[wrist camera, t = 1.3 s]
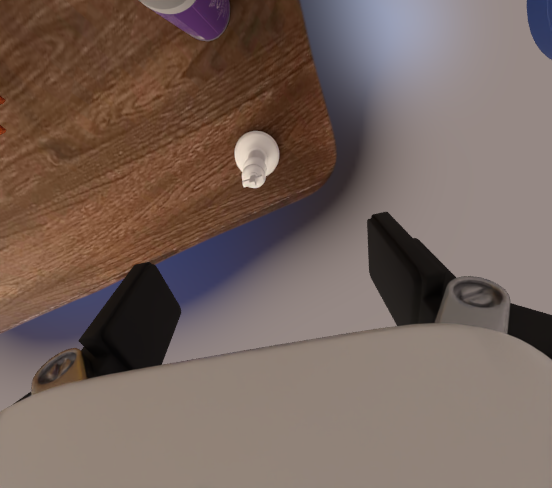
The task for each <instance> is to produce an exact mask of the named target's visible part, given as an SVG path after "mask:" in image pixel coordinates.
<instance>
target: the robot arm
mask: <svg viewBox="0 0 552 488" xmlns="http://www.w3.org/2000/svg"><path fill="white" fill-rule="evenodd" d="M367 228H368V255H369V273H370V276H371V278H372V280H373V282H374V284H375V286H376V288H377V290H378V291H379V293H380V295H381V297H382V299H383V301H384V302H385V304H386V306H387V308H388V310H389V312H390V313H391V315H392V317H393V319H394V321H395V322H396V324H397V326H395V327H387V328H379V329H373V330H366V331H360V332H353V333H347V334H340V335H335V336H329V337H322V338H316V339H311V340H304V341H299V342H292V343H286V344H280V345H274V346H269V347H262V348H256V349H250V350H244V351H239V352H233V353H227V354H221V355H215V356H210V357H204V358H198V359H192V360H187V361H181V362H176V363H170V364H164V365H162V362H163V359H164V357H165V354H166V352H167V349H168V346H169V344H170V341H171V339H172V336H173V333H174V331H175V328H176V325H177V323H178V320H179V317H180V314H181V308H180V306H179V304H178V302H177V301H176V299H175V298H174V295H173V294H172V292H171V291H170V289H169V287H168V285H167V284H166V282H165V280H164V279H163V277H162V275H161V274H160V272H159V270H158V269H157V267H156V266H155V265H154V264H151V263H150V262H146V263H141V264H137V265H134V266H133V268H132V269H131V270H130V272H129V273H128V274H127V276H126V277H125V279H124V280H123V281H122V283H121V284H120V285H119V287H118V288H117V289H116V291H115V292H114V293H113V295H112V296H111V297H110V299H109V300H108V301H107V303H106V304H105V306H104V307H103V308H102V310H101V311H100V312H99V314H98V315H97V316H96V318H95V319H94V320H93V322H92V323H91V324H90V326H89V327H88V329H87V330H86V331H85V333H84V334H83V335H82V337H81V338H80V339H79V342H80V343H81V344H82V345H83V346H84V347H83V349H82V350H81V351H80V350H79V349H77V348H71V349H68V350H65V351H63V352H61V353H59V354H57V355H55V356H54V357H52V358H51V359H50V360H49V361H47V362H46V363H45V364H44V365H43V366H42V367H41V368H40V369H39V370H38V371H37V373H36V374H35V376H34V378H33V381H32V387H31V392H30V393H28V394H27V395H25V396H24V397H23V398H21V399H20V400H18V401H17V402H16V403H14V404H13V405H11V406H9V407H8V408H6V409H4V410H2V411H1V412H0V488H552V315H549V314H546V313H543V312H539V311H536V310H532V309H529V308H525V307H522V306H518V305H515V304H511V303H510V297H509V294H508V293H507V292H506V291H505V289H503V288H502V287H501V286H499V285H498V284H496V283H494V282H492V281H490V280H487V279H484V278H480V277H473V276H468V277H467V276H464V277H459V278H456V277H455V276H454V275H453V274H452V273H451V272H450V271H449V270H448V269H447V268H446V267H445V266H444V265H443V264H442V263H441V262H440V261H439V260H438V259H437V258H436V257H435V256H434V255H433V254H432V253H431V252H430V251H429V250H428V249H427V248H426V247H425V246H424V245H423V244H422V243H421V242H420V240H418V239H416V238H412V237H411V236H410V235H409V234H408V233H407V232H406V231H405V230H404V229H403V228H402V227H401V226H400V224H399V223H398V222H396V220H395V219H393V217H392V216H391V215H390V214H389V213H388V212H383V213H378V214H373V215H372V218H371V219H368V220H367Z"/></svg>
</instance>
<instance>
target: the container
mask: <svg viewBox="0 0 552 488" xmlns="http://www.w3.org/2000/svg"><path fill="white" fill-rule="evenodd" d="M139 1H140V2H142V3H143V4H144V5H145V6H147V7H148V8H150V9H151V10H153V11H154V12H156V13H157V14H159V15H160V16H162V17H163V18H165V19H166V20H168V21H169V22H171V23H173V24H174V25H176V26H177V27H179V28H180V29H182V30H183V31H185V32H186V33H188V34H189V35H191V36H192V37H194V38H196V39H198V40H202V41H211V40H214V39H216V38H218V37H219V36H220V35H221V34H222V33H223V32H224V31H225V29H226V27H227V25H228V22H229V17H230V3H229V0H139Z"/></svg>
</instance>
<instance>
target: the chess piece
mask: <svg viewBox="0 0 552 488" xmlns="http://www.w3.org/2000/svg"><path fill="white" fill-rule="evenodd" d="M235 160H236V163H237V166H238V167H239V169H240V170H241V171H242V180H243V181H242V184H243V187H247V186H248V187H250V188H258V187H260V186H261V185H263V183H264V182H265V179H266V176H267V175H269V174H270V173H272V172H273V171H274V169H275V168H276V166H277V164H278V161H279V148H278V145H277V143H276V142H275V140H274V139H273V138H272V137H271V136H270V135H268V134H267V133H265V132H262V131H251V132H248V133H246V134H244V135H243V136H242V137H241V138H240V139H239V140H238V142H237V144H236V147H235Z"/></svg>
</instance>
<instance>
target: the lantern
mask: <svg viewBox="0 0 552 488" xmlns="http://www.w3.org/2000/svg"><path fill="white" fill-rule="evenodd" d="M5 101H6V100H5V99H4V98H2V97H1V96H0V105H1V104H3V103H4V102H5ZM5 132H6V129H4V128H3V127H2V126H1V125H0V135H1V134H3V133H5Z"/></svg>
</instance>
